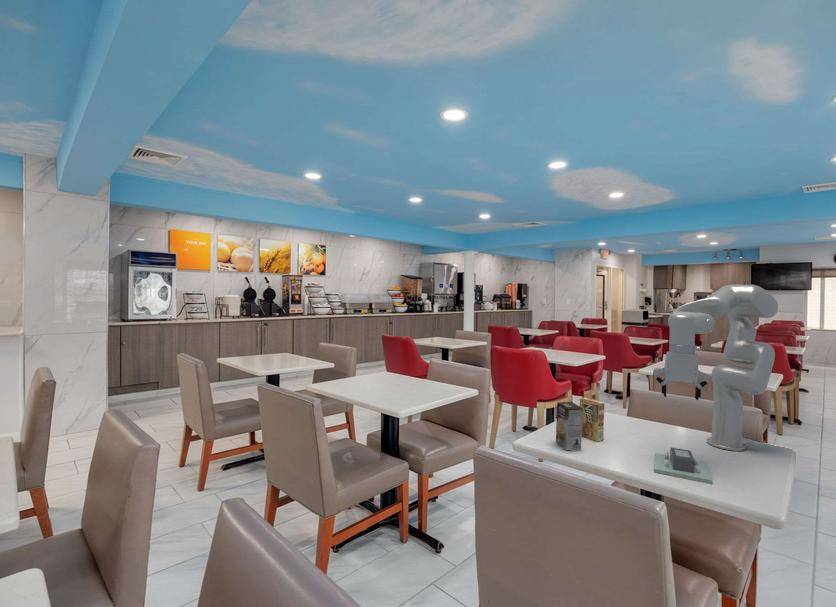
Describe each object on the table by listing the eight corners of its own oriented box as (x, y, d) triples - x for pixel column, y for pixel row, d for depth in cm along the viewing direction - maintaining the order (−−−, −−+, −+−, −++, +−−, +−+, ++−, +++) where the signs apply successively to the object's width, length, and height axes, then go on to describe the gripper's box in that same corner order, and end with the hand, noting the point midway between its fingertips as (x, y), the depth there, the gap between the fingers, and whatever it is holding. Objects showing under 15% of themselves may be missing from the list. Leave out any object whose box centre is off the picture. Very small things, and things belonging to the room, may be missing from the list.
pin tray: (707, 466, 151) (708, 456, 150) (712, 484, 137) (712, 474, 137) (654, 456, 158) (655, 447, 158) (654, 472, 145) (654, 462, 144)
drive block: (689, 461, 151) (690, 450, 151) (694, 473, 142) (694, 460, 142) (670, 458, 153) (670, 447, 153) (672, 469, 144) (673, 456, 144)
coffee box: (554, 442, 171) (556, 401, 170) (570, 441, 172) (571, 401, 171) (566, 451, 162) (567, 408, 161) (582, 450, 163) (583, 408, 162)
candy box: (603, 440, 174) (605, 402, 174) (597, 442, 172) (598, 403, 171) (584, 433, 182) (585, 397, 181) (578, 435, 179) (579, 398, 179)
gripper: (710, 349, 152) (708, 397, 153) (653, 346, 160) (652, 392, 161) (712, 352, 145) (711, 403, 146) (653, 349, 153) (652, 397, 154)
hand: (680, 397), depth 154 cm, fingers open, 9 cm apart
